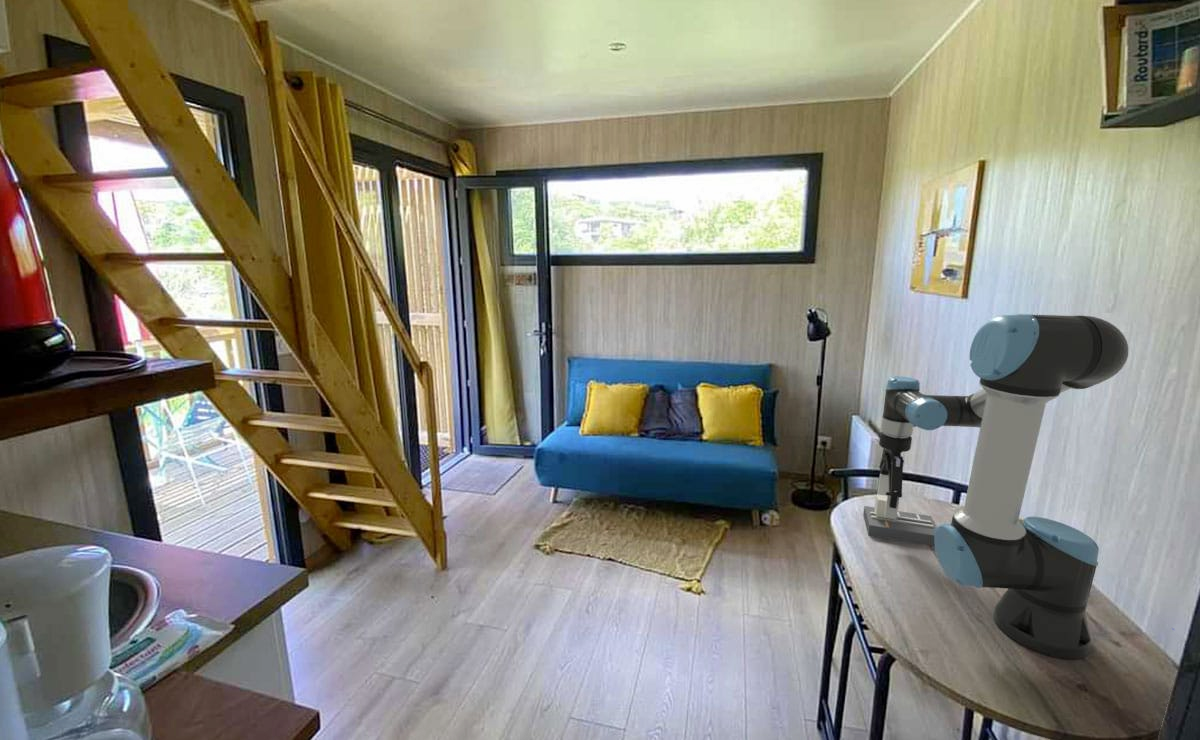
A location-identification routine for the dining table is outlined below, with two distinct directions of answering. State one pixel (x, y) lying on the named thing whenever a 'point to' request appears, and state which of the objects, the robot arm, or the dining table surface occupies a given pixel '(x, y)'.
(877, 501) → the fader knob
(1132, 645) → the dining table surface
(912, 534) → the fader console
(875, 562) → the dining table surface
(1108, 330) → the robot arm
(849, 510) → the dining table surface
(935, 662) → the dining table surface
